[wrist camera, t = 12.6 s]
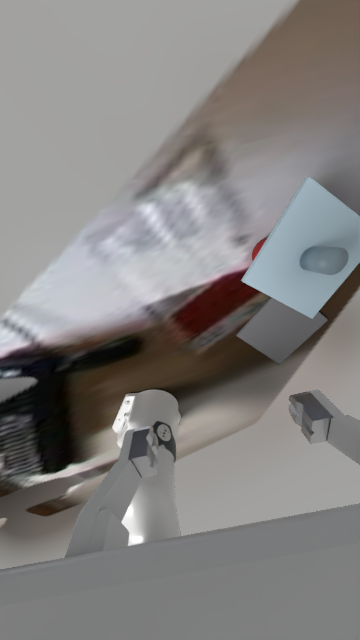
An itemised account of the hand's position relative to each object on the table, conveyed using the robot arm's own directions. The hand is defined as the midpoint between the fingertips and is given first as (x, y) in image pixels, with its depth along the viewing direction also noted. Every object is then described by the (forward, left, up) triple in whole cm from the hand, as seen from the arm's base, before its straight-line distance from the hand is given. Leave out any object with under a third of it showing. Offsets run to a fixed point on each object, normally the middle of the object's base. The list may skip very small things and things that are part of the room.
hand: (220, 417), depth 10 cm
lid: (+16, -10, -19) cm, 27 cm away
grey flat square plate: (+6, -26, -31) cm, 41 cm away
